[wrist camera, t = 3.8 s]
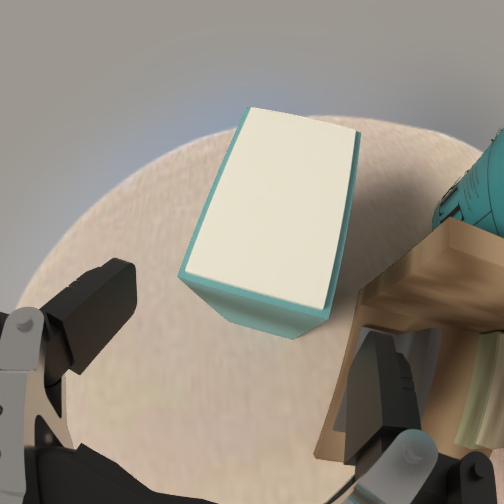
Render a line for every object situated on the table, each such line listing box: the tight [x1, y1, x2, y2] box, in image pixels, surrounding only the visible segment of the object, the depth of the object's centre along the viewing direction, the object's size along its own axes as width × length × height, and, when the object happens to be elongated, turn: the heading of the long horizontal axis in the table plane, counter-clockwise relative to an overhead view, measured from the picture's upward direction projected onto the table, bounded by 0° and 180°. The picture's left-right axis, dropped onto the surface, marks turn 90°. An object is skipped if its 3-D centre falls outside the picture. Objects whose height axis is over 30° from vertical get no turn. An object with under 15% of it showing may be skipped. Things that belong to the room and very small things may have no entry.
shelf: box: [313, 217, 504, 463], centre depth 12 cm, size 16×12×12 cm
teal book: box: [177, 107, 361, 340], centre depth 15 cm, size 4×7×12 cm, turn 163°
